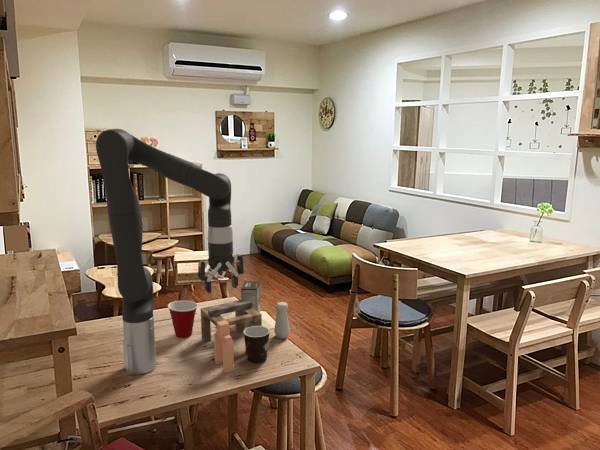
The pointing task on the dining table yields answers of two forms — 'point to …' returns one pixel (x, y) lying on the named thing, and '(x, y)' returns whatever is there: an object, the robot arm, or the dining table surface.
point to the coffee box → (251, 296)
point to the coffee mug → (256, 343)
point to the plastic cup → (183, 317)
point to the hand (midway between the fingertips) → (221, 289)
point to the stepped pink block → (224, 346)
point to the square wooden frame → (236, 306)
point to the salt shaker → (281, 321)
